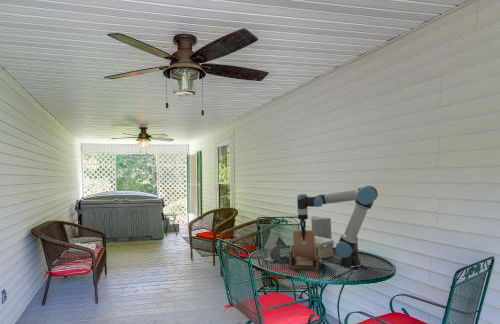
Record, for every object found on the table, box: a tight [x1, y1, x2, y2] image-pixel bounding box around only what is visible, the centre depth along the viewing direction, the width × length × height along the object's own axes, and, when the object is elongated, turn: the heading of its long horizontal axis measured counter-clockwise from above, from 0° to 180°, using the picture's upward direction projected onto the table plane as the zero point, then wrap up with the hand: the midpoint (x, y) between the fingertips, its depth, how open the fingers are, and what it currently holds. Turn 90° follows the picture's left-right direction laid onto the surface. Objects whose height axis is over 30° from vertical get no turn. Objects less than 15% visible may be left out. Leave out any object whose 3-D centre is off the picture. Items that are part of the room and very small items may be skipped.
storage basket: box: [314, 236, 335, 260], centre depth 279 cm, size 24×16×15 cm
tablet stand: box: [263, 234, 287, 263], centre depth 275 cm, size 18×10×20 cm, turn 137°
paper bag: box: [310, 215, 333, 240], centre depth 304 cm, size 19×15×28 cm
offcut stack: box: [294, 257, 314, 266], centre depth 246 cm, size 6×14×7 cm, turn 78°
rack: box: [288, 245, 320, 270], centre depth 251 cm, size 18×21×14 cm
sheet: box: [292, 229, 316, 260], centre depth 256 cm, size 2×16×24 cm, turn 78°
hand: (304, 244), depth 256 cm, fingers closed on sheet, 2 cm apart
